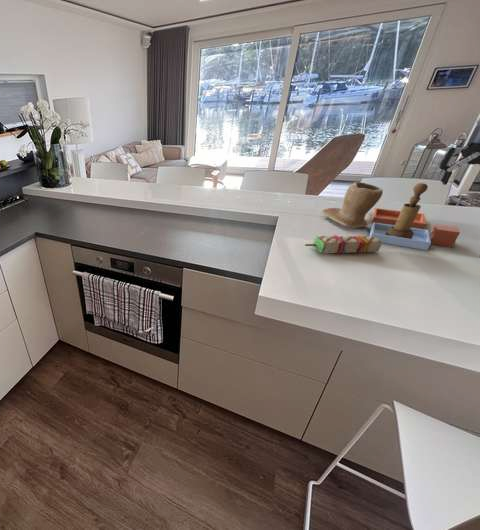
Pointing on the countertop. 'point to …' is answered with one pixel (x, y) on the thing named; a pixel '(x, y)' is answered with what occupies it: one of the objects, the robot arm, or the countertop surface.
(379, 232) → the light blue tray
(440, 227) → the terracotta block
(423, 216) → the terracotta tray
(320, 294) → the countertop surface
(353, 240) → the skewer
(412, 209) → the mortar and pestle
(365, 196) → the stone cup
